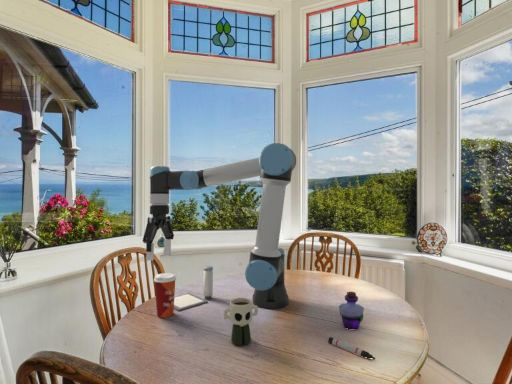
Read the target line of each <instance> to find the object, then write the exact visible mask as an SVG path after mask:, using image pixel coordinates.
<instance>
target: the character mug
mask: <svg viewBox="0 0 512 384" xmlns="http://www.w3.org/2000/svg"><path fill="white" fill-rule="evenodd" d="M258 308H259V307H258V306H257V305H254V304H253V302H252V299H250V298H246V297H236V298H233V299H231V300H229V308H227V307H226V308H224V309H223V319H225V320H229V321H230V322H231V323H232V324H233V325H232V328H231V340H230V341H231V342H232V344H233V345H236V346H242V345H243V343H244V345H248V344H250V343H251V342H252V339H251V338H252V337H251V335H252V334H251V328H250V323H251V322H252V321H253V317H254V316H258V312H259V311H258ZM253 310H254V312H253ZM228 312H229V315H228Z"/></svg>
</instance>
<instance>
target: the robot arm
mask: <svg viewBox="0 0 512 384" xmlns="http://www.w3.org/2000/svg"><path fill="white" fill-rule="evenodd" d="M296 164H297V156H296V154H295V152H294V151H293V150H292V149H291V148H290V147H289V146H287V144H284V143H281V142H273V143H269V144H268V145H267V144H266V146H265V147H264V148H263V149H262V150H261V152H260V154H259V156H258V157H255V158H251V159H250V158H249V159H246V160H242V161H241V160H240V161H237V162H233V163H227V164H223V165H219V166H214V167H211V168H206V169H201V170H197V171H195V170H177V171H176V170H175V171H174V170H173V171H172V170H170V167H169V166H166V165H165V166H164V165H154V166H151V168H150V175H149V183H150V184H149V188H150V189H149V190H150V191H149V203H150V204H151V205H150V206H149V215H152V216H151V217H150V216H148V217H147V223H146V227H145V230H144V234H143V238H142V242H143V244H146V248H145V249H146V253H145V254H146V256H145V257H146V258H145V260H146V261H155V260H154V259H155V255H154V254H155V243H154V239H156V238H155V237H156V235H157V233H158V230H161V232H162V233H163V236H164V238H165V239H164V240H163V243H164V244H163V255H164V256H171V255H172V240H174V237H175V235H174V234H175V233H174V230H173V226H172V223H171V222H172V221H171V216H170V215H169V214H170V206H169V204H170V191H173V190H176V191H181V190H182V191H191V190H202V189H203V188H208V187H213V186H217V185H221V184H227V183H231V182H237V181H240V180H246V179H251V178H256V177H259V180H260V181H261V182H262V190H261V196H260V197H261V198H260V205H259V212H258V213H259V215H258V222H257V230H256V237H255V245H254V246H253V247H252V248H251V249H250V254H249V261H248V264H247V266H246V268H245V272H244V276H245V280H246V282H247V284H249V286H250V287H251V288H252V289H254V292H253V295H252V299H251V300H252V305H253V306H254V305H257V307H258V308H260V309H261V308H263V309H280V308H284V307H286V306H288V305H289V300H290V299H289V294H288V293H287V288H286V284H285V256H286V254H285V249H283V248H282V247H279V244H280V236H281V235H280V234H281V227H282V220H283V211H284V204H285V198H286V197H285V196H286V188H287V186H288V185H289V184H290V183H291V180H292V175H293V171H294V169H296Z"/></svg>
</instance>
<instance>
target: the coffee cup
mask: <svg viewBox="0 0 512 384" xmlns="http://www.w3.org/2000/svg"><path fill="white" fill-rule="evenodd" d="M176 279H177V277H176V275H175V274H174V273H171V272H164V273H163V272H162V273H158V274H155V276H154V279H153V282H154V291H155V293H154V294H155V304H156V314H157V315H156V317H158V318H162V319H167V318H170V317H172V316H173V315H174V311H175V309H174V297H176V296H175V295H176V294H175V293H176V292H175V291H176V290H175V289H176Z"/></svg>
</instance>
